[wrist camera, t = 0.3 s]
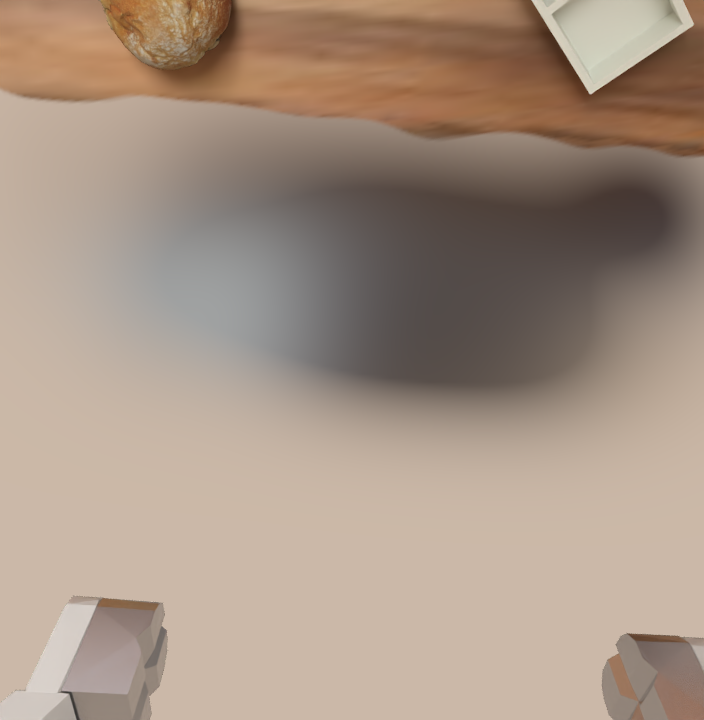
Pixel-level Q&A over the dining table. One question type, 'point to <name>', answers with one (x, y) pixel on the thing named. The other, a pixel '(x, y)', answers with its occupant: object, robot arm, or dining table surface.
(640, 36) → the egg carton
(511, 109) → the dining table surface
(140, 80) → the dining table surface
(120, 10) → the bread roll
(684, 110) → the dining table surface
